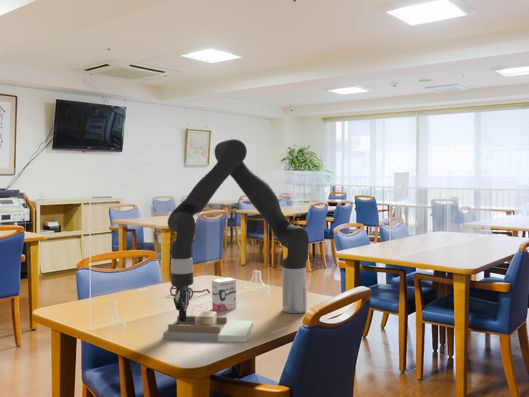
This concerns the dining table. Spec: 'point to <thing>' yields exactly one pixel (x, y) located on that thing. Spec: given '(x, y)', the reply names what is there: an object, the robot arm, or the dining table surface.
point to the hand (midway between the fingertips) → (182, 320)
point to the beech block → (206, 318)
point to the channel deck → (209, 330)
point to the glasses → (190, 289)
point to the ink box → (224, 294)
